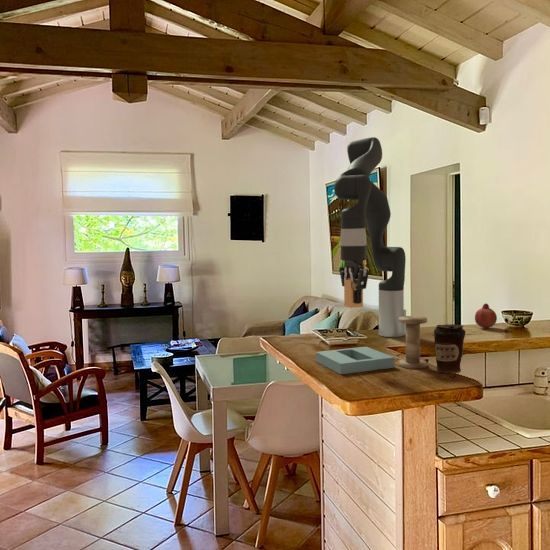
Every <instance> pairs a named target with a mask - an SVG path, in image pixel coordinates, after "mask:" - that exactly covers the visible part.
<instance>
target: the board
mask: <svg viewBox="0 0 550 550" xmlns="http://www.w3.org/2000/svg"><path fill="white" fill-rule="evenodd" d="M315 357H316V358H315V360H316V363H318V364H320V365H322V366H324V367H325V368H327V369H330V370H331V371H334V372H336V373H337V374H339V375H346V374H354V373H355V374H356V373H362V372H369V371H379V370H385V369H386V370H387V369H394V368H396V367H395V357H394V356H392V355H390V354H387V353H385V352H381V351H379V350H376V349H373V348H371V347H369V346H359V347H350V348H349V347H348V348H342V349H340V348H339V349H331V350H330V349H329V350H324V351H322V350H321V351H316V353H315ZM378 369H379V370H378Z"/></svg>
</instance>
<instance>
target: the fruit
mask: <svg viewBox="0 0 550 550" xmlns="http://www.w3.org/2000/svg"><path fill="white" fill-rule="evenodd" d="M497 319H498V317H497V313H496V312H495V311H494V310H493V309H492V308H490V306H489V304H488V303H483V305H482V307H481V308H479V309H478V310H476V312H475V315H474V321H475V323H476V325H477V326H479V327H481V328H483V329H488V328H492V327H493V326H494V325H495V324H496V323H497Z"/></svg>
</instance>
